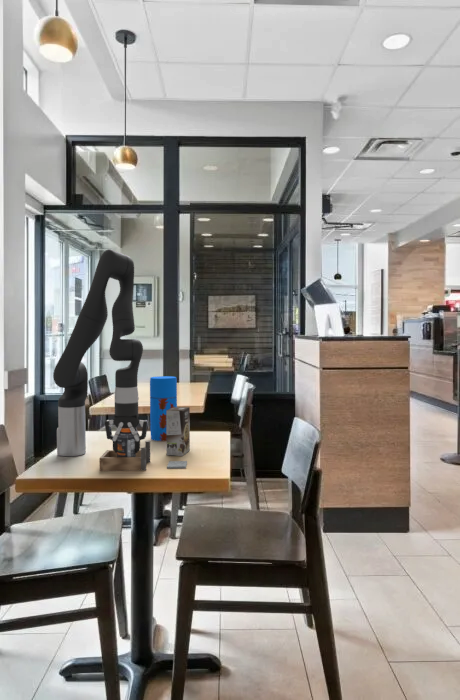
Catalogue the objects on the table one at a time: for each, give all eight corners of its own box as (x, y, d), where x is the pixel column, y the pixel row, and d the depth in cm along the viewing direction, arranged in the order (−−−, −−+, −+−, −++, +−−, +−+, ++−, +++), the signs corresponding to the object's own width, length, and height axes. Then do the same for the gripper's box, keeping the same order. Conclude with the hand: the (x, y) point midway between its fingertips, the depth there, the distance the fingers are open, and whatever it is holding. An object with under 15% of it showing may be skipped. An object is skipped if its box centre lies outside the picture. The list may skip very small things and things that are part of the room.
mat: (167, 468, 168) (167, 466, 168) (169, 462, 175) (169, 461, 175) (185, 468, 168) (185, 466, 168) (187, 462, 175) (187, 461, 175)
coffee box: (183, 456, 185) (183, 410, 184) (165, 455, 186) (165, 410, 185) (190, 450, 194) (190, 406, 193) (173, 449, 195) (173, 406, 194)
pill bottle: (113, 461, 171) (113, 426, 171) (129, 458, 175) (129, 424, 175) (123, 464, 167) (123, 429, 167) (139, 461, 171) (139, 427, 171)
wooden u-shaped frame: (99, 470, 166) (99, 448, 166) (107, 462, 177) (106, 441, 177) (145, 470, 166) (145, 448, 166) (150, 461, 177) (150, 441, 177)
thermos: (153, 435, 221) (152, 376, 220) (178, 435, 221) (178, 376, 220) (148, 441, 210) (147, 378, 209) (174, 441, 210) (174, 378, 209)
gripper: (101, 402, 167) (101, 454, 167) (147, 402, 167) (147, 455, 167) (106, 399, 174) (107, 449, 175) (150, 399, 174) (150, 449, 175)
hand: (126, 452), depth 171 cm, fingers closed on pill bottle, 6 cm apart
